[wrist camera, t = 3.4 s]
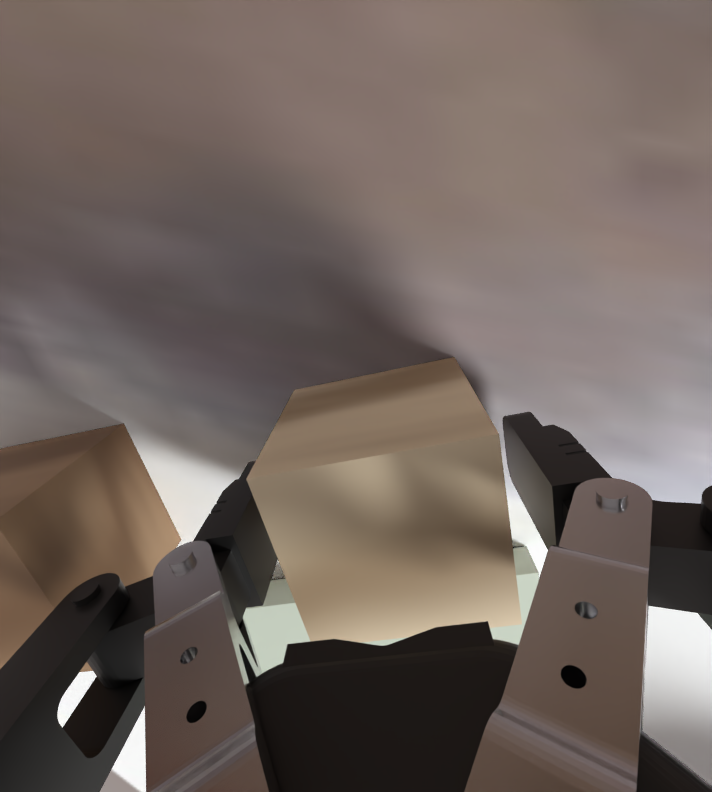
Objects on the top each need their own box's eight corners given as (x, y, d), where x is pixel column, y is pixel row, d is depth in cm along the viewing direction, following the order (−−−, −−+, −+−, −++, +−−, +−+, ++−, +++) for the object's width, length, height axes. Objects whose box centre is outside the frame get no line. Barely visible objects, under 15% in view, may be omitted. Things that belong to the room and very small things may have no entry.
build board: (126, 599, 17) (106, 628, 15) (526, 546, 14) (539, 575, 13) (238, 788, 22) (230, 821, 21) (548, 770, 20) (559, 805, 18)
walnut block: (-1, 448, 14) (-183, 552, 10) (125, 422, 14) (-6, 521, 9) (67, 556, 16) (-59, 687, 11) (182, 537, 15) (97, 670, 11)
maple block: (294, 389, 13) (246, 479, 8) (453, 356, 12) (498, 433, 7) (334, 515, 15) (313, 647, 10) (474, 493, 14) (522, 624, 9)
